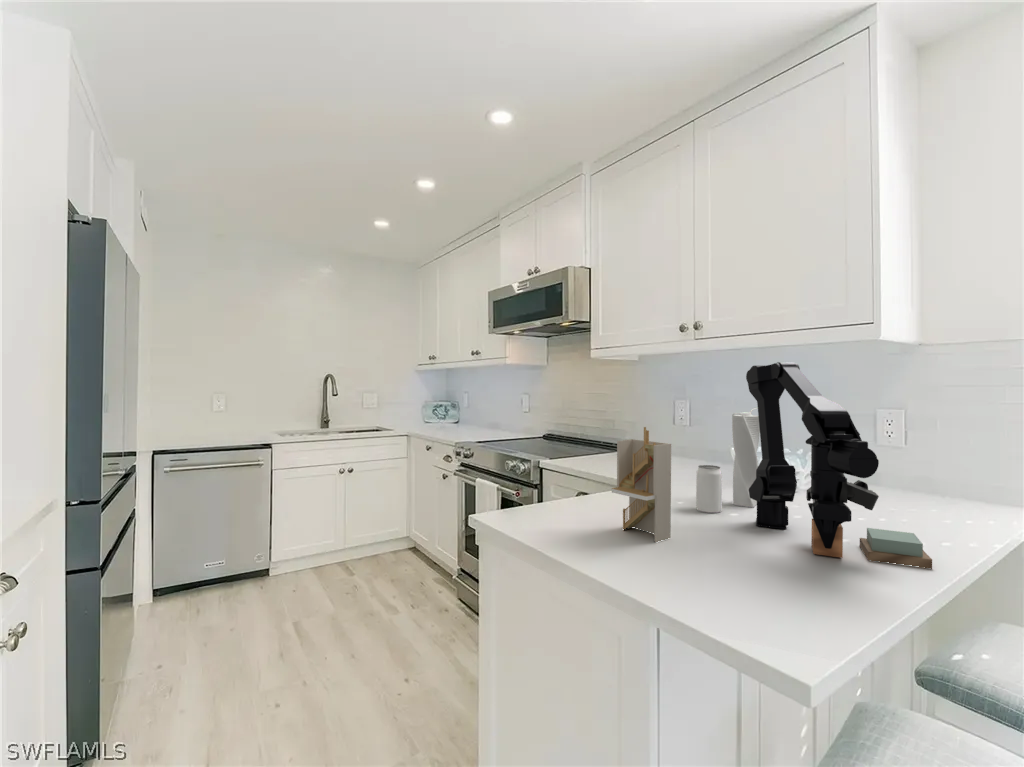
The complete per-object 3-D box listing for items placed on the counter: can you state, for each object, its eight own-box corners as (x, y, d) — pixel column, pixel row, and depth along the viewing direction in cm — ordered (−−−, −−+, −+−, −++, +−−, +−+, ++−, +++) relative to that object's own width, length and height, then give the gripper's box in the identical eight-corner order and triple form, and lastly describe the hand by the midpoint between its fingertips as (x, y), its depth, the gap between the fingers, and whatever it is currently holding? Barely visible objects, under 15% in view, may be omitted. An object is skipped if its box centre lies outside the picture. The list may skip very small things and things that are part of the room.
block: (813, 553, 104) (813, 524, 104) (811, 546, 108) (811, 518, 108) (842, 557, 101) (842, 527, 101) (839, 550, 106) (839, 521, 106)
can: (725, 513, 136) (725, 468, 136) (701, 513, 136) (701, 468, 136) (716, 507, 142) (716, 464, 142) (692, 507, 143) (693, 464, 142)
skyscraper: (764, 504, 147) (764, 406, 146) (758, 509, 141) (759, 408, 140) (734, 500, 151) (735, 406, 151) (728, 505, 145) (729, 407, 145)
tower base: (868, 564, 101) (868, 551, 101) (859, 549, 110) (859, 537, 110) (932, 572, 96) (932, 559, 96) (917, 556, 105) (917, 544, 105)
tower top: (872, 550, 102) (872, 537, 102) (866, 539, 109) (866, 527, 109) (922, 557, 98) (922, 544, 98) (913, 545, 105) (913, 533, 105)
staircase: (630, 528, 124) (630, 423, 124) (670, 540, 114) (671, 427, 114) (608, 534, 119) (608, 425, 119) (648, 547, 110) (649, 429, 110)
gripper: (884, 480, 93) (883, 565, 93) (866, 465, 110) (865, 537, 110) (813, 475, 98) (813, 556, 98) (806, 461, 114) (805, 530, 115)
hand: (826, 544), depth 105 cm, fingers closed on block, 5 cm apart
